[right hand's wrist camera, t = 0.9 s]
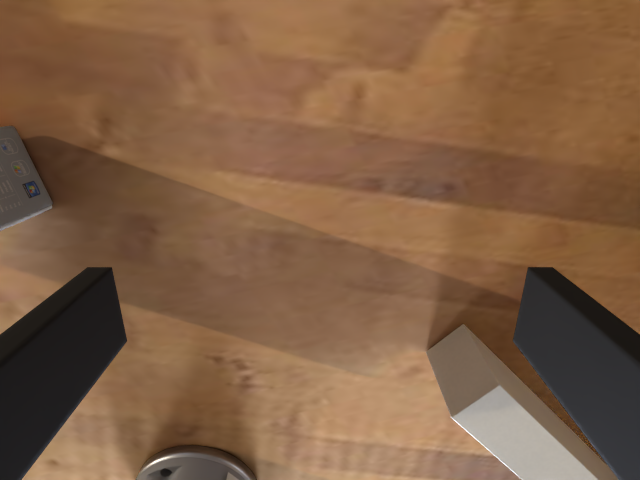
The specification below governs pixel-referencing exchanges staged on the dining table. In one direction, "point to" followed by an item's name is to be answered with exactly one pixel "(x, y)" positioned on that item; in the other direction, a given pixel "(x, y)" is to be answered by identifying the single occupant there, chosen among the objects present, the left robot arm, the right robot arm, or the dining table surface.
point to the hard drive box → (19, 182)
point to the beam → (508, 414)
